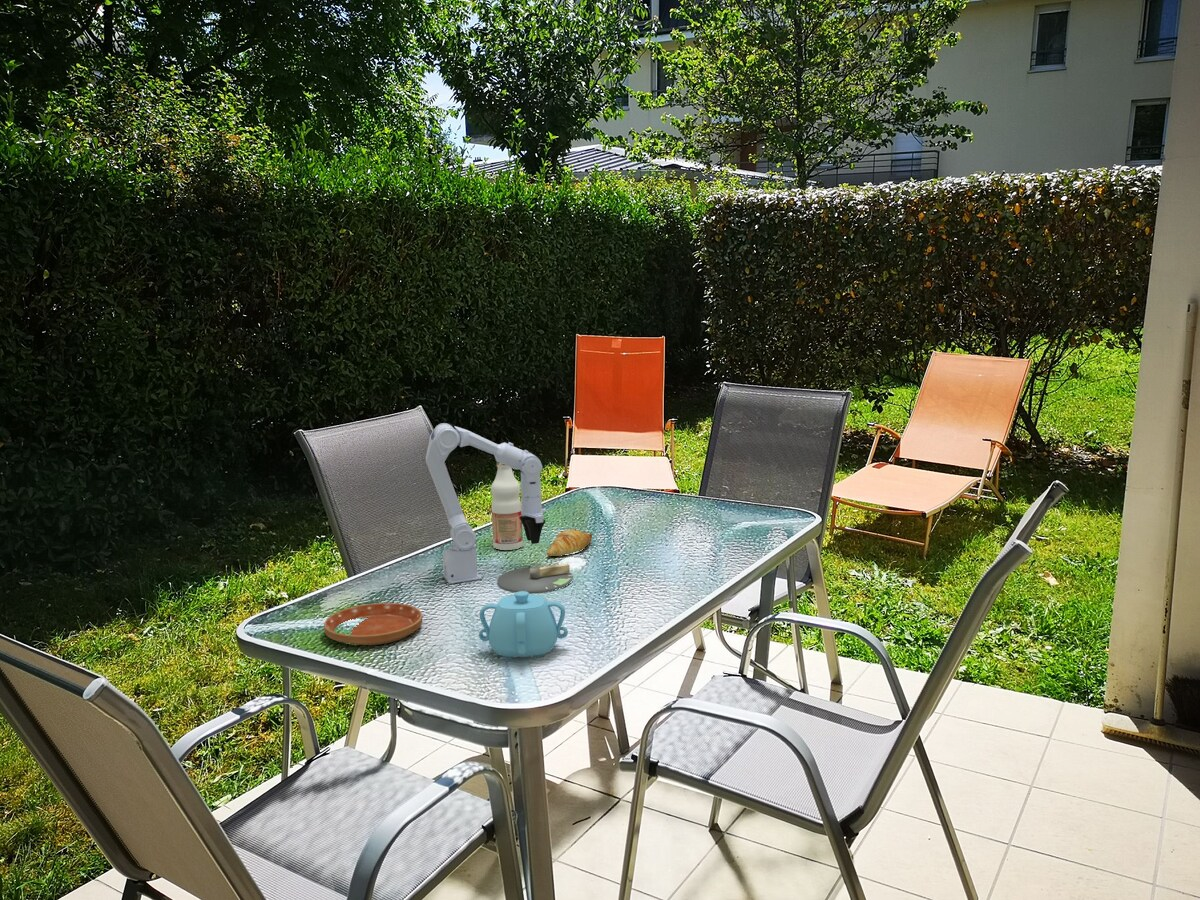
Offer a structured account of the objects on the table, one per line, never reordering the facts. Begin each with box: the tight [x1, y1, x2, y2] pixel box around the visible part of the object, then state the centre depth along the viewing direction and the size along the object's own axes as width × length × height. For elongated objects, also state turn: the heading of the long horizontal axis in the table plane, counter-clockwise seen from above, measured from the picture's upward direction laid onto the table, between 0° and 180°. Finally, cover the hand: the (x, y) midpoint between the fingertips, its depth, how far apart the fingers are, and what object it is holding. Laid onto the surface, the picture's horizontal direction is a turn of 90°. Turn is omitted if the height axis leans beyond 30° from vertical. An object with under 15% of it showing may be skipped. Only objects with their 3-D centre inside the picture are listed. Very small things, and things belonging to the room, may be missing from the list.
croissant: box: [546, 528, 593, 557], centre depth 281 cm, size 21×10×8 cm, turn 145°
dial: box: [496, 566, 574, 594], centre depth 252 cm, size 21×21×1 cm
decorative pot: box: [478, 591, 569, 660], centre depth 203 cm, size 16×16×14 cm
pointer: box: [530, 563, 571, 578], centre depth 254 cm, size 11×3×2 cm, turn 112°
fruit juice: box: [490, 461, 524, 550], centre depth 284 cm, size 9×9×28 cm
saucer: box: [323, 602, 423, 646], centre depth 217 cm, size 23×23×4 cm
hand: (533, 541), depth 261 cm, fingers open, 3 cm apart
